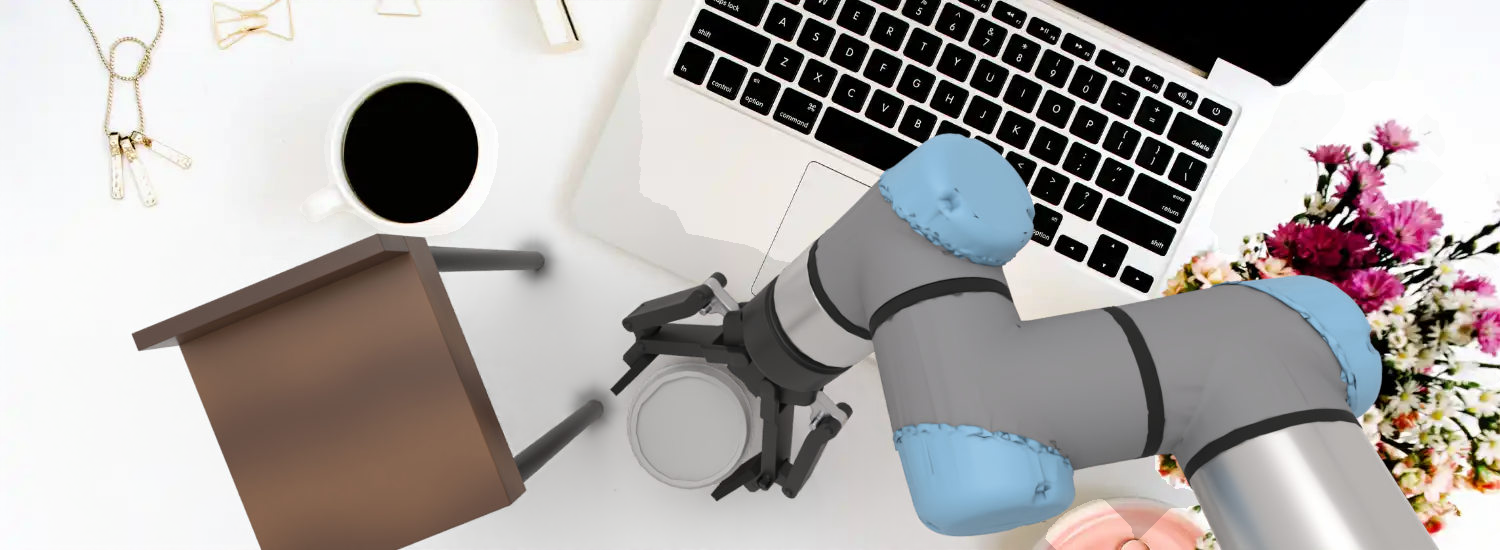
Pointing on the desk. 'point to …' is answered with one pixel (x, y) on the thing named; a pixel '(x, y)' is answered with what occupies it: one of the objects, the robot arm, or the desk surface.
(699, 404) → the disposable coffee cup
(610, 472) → the desk surface
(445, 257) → the shelf legs
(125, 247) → the desk surface
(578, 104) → the desk surface
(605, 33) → the desk surface
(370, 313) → the desk shelf
